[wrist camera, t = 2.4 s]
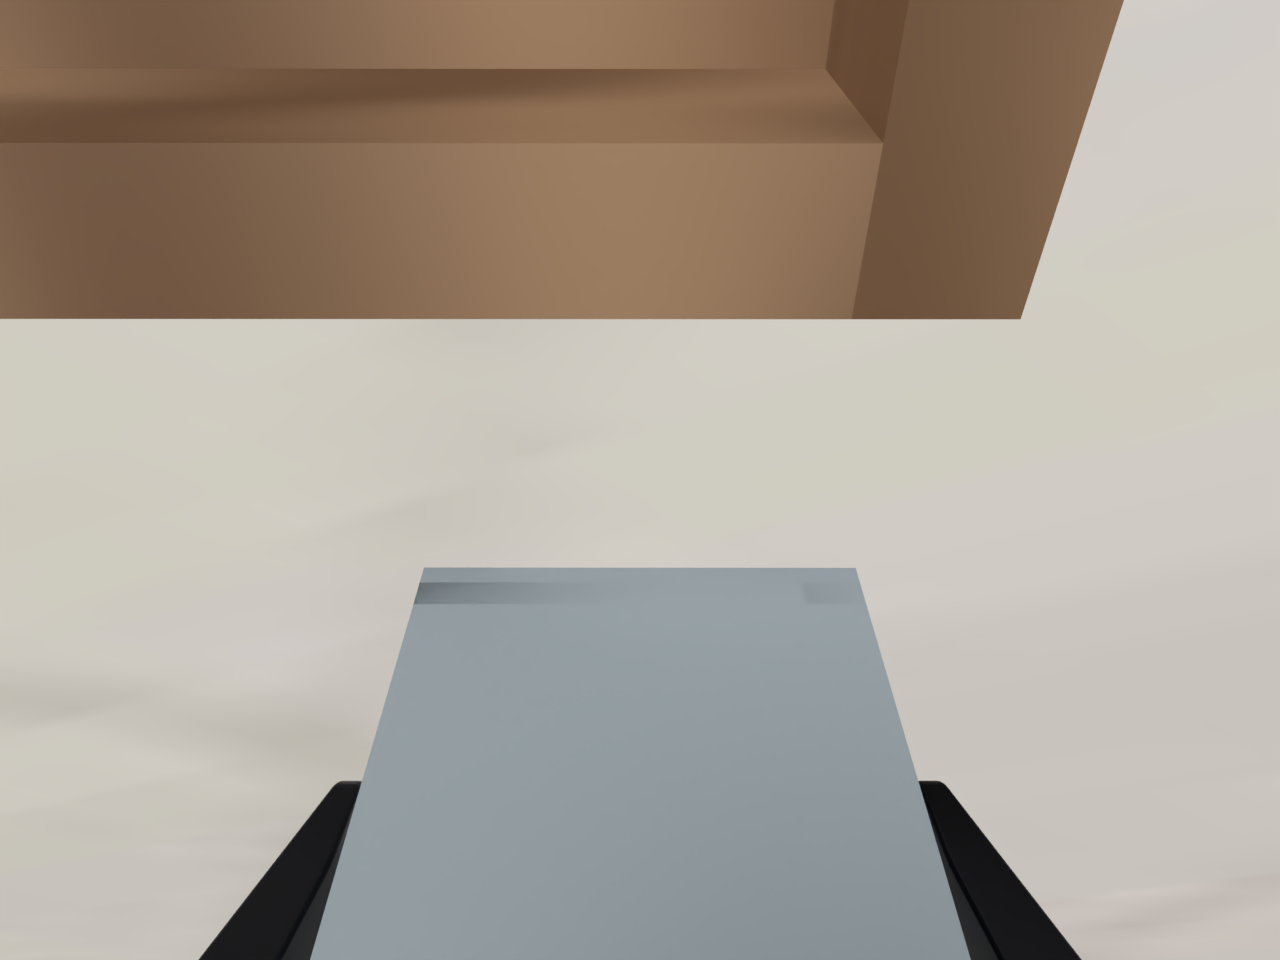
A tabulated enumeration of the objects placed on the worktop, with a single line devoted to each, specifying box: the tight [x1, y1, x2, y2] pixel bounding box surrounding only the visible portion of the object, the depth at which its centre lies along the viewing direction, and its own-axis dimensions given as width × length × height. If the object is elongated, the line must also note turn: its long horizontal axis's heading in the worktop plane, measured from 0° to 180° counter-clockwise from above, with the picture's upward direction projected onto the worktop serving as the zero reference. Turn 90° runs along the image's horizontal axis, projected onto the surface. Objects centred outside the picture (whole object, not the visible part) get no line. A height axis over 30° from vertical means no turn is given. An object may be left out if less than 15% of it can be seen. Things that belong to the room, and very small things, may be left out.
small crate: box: [310, 568, 971, 960], centre depth 12 cm, size 6×8×6 cm
